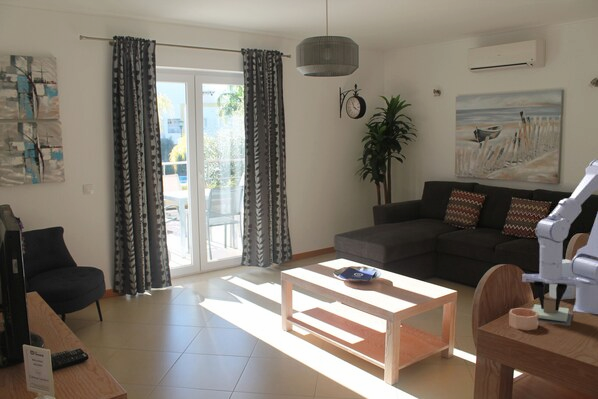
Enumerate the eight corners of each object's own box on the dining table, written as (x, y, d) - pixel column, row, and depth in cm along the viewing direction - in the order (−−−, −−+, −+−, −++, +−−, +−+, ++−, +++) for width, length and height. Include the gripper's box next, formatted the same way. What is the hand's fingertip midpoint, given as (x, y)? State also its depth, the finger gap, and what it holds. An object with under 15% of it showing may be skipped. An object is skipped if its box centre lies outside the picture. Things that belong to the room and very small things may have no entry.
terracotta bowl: (511, 320, 147) (512, 306, 147) (539, 324, 144) (539, 310, 143) (507, 329, 141) (507, 314, 141) (535, 333, 138) (536, 318, 137)
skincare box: (565, 295, 166) (566, 258, 165) (575, 300, 162) (576, 261, 160) (548, 297, 165) (548, 260, 163) (557, 301, 161) (558, 263, 159)
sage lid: (534, 306, 154) (534, 292, 153) (568, 311, 149) (569, 296, 149) (530, 316, 146) (530, 301, 146) (566, 321, 142) (566, 306, 141)
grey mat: (531, 309, 156) (531, 307, 155) (572, 314, 150) (572, 312, 150) (525, 321, 146) (525, 319, 146) (570, 327, 141) (570, 325, 140)
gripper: (520, 262, 146) (520, 309, 148) (579, 267, 139) (578, 316, 141) (524, 257, 152) (523, 302, 154) (580, 261, 145) (579, 308, 147)
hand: (549, 308), depth 148 cm, fingers closed on sage lid, 3 cm apart
